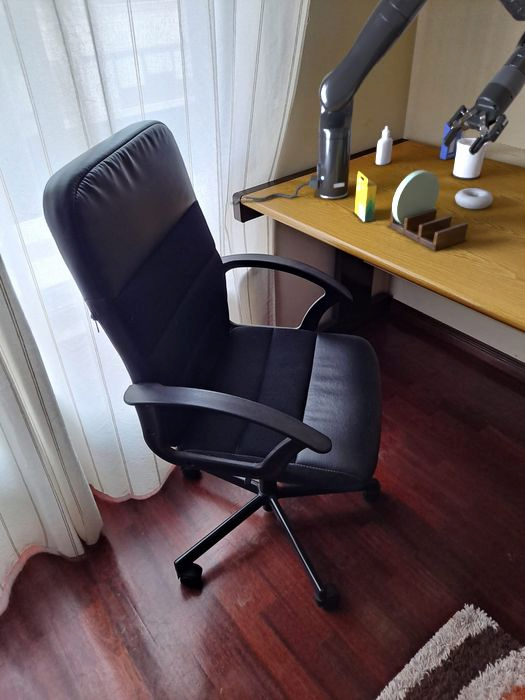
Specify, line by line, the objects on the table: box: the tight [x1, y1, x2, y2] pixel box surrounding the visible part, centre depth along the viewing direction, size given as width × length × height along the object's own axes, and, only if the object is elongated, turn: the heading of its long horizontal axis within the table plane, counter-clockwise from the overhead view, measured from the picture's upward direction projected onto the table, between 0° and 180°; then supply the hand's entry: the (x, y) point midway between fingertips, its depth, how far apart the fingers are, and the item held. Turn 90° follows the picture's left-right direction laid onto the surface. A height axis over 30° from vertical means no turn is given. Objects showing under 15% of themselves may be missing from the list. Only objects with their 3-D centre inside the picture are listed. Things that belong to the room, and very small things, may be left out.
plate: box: [391, 169, 440, 226], centre depth 127 cm, size 2×14×14 cm, turn 119°
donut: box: [454, 187, 494, 210], centre depth 140 cm, size 10×4×10 cm
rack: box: [389, 208, 469, 252], centre depth 126 cm, size 17×10×4 cm, turn 29°
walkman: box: [439, 120, 467, 160], centre depth 170 cm, size 8×3×12 cm, turn 122°
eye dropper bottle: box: [375, 125, 394, 166], centre depth 168 cm, size 4×6×12 cm
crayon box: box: [354, 170, 378, 223], centre depth 134 cm, size 7×3×12 cm, turn 12°
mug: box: [452, 137, 489, 181], centre depth 156 cm, size 11×9×10 cm
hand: (457, 148), depth 124 cm, fingers open, 8 cm apart
